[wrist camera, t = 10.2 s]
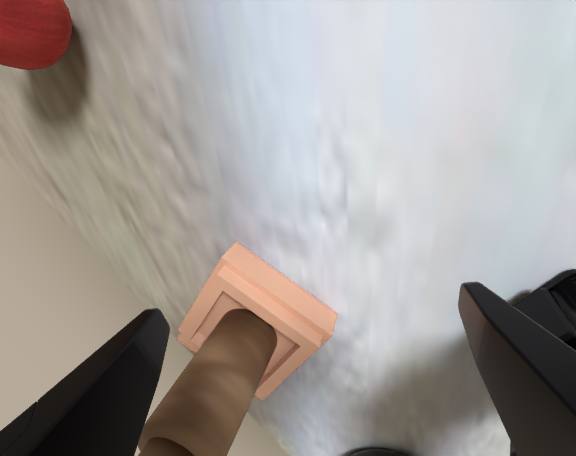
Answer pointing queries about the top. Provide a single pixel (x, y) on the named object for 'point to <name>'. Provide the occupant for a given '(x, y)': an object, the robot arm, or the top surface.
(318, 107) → the top surface
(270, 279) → the mill holder
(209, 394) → the pepper mill
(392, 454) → the supplement container
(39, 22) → the onion
